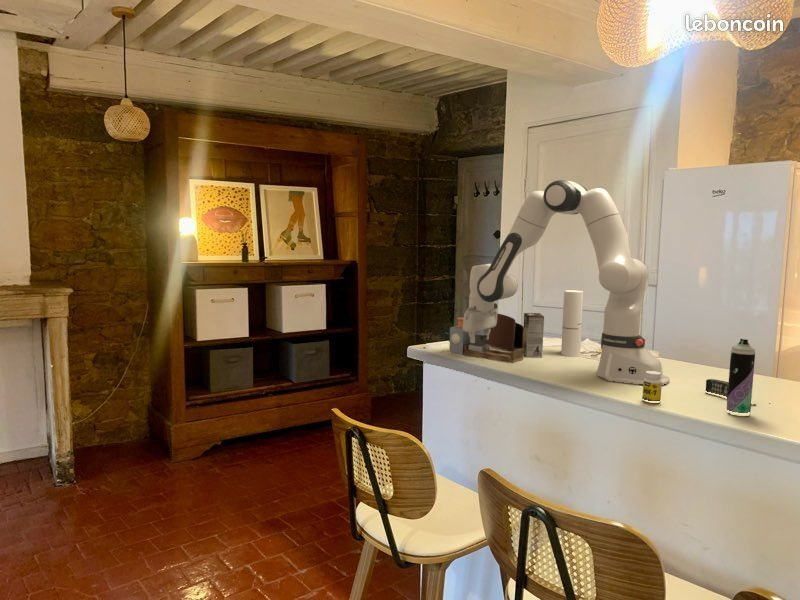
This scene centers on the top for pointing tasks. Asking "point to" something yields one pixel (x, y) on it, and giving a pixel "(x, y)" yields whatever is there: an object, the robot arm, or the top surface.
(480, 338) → the carriage
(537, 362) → the top surface
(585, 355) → the top surface
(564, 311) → the cylindrical container
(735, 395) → the spray can
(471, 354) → the rail bed
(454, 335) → the grey block
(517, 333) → the letter holder
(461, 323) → the plunger
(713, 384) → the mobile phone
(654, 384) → the supplement bottle
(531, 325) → the coffee box
